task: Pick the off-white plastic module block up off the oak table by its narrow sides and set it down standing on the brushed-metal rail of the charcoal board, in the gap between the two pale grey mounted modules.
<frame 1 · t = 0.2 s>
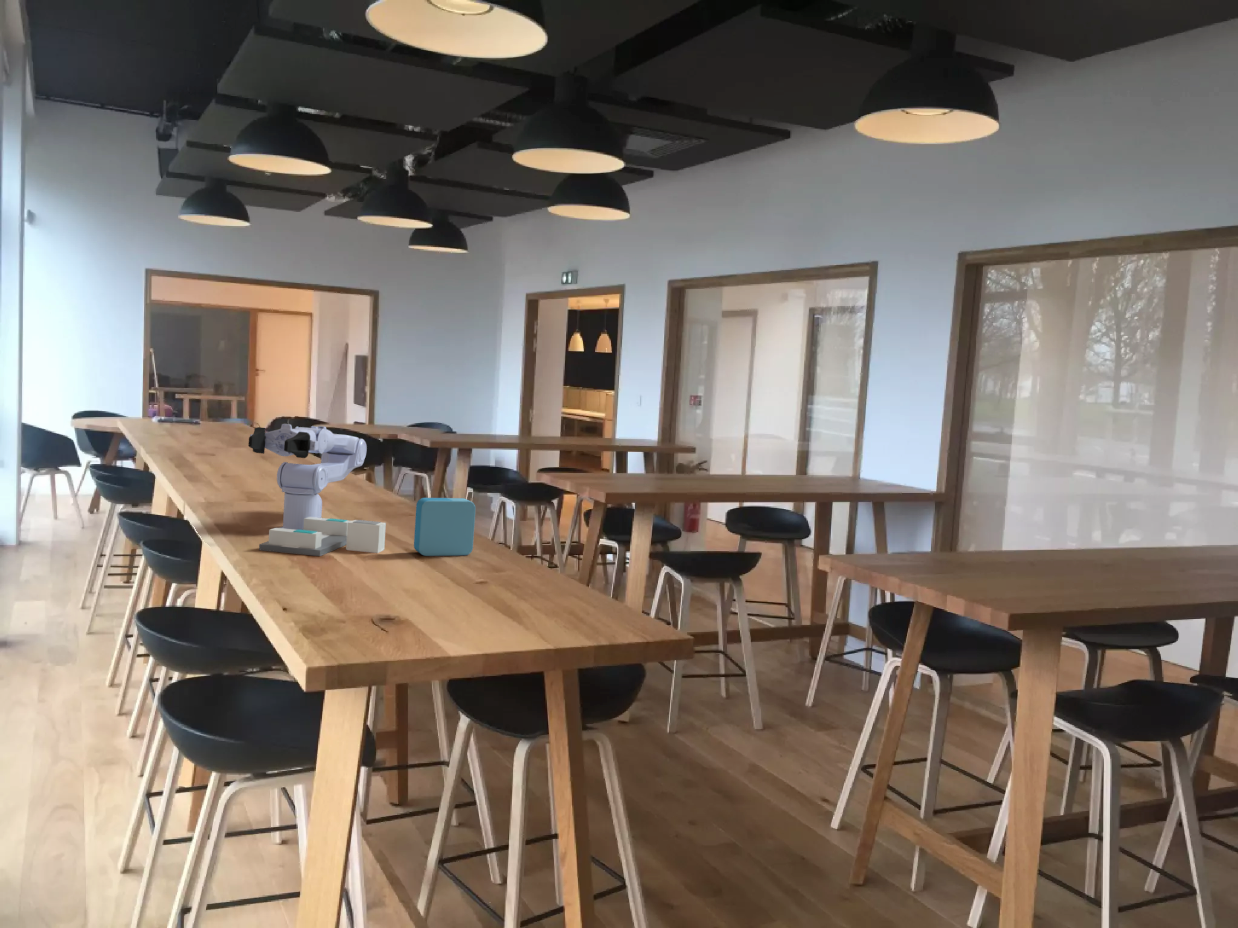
hand: (268, 443, 201), 21 cm above the table, tool horizontal, fingers open, 7 cm apart
module block: (365, 550, 207), on the table
data package: (442, 554, 209), on the table
rail board: (311, 544, 208), on the table
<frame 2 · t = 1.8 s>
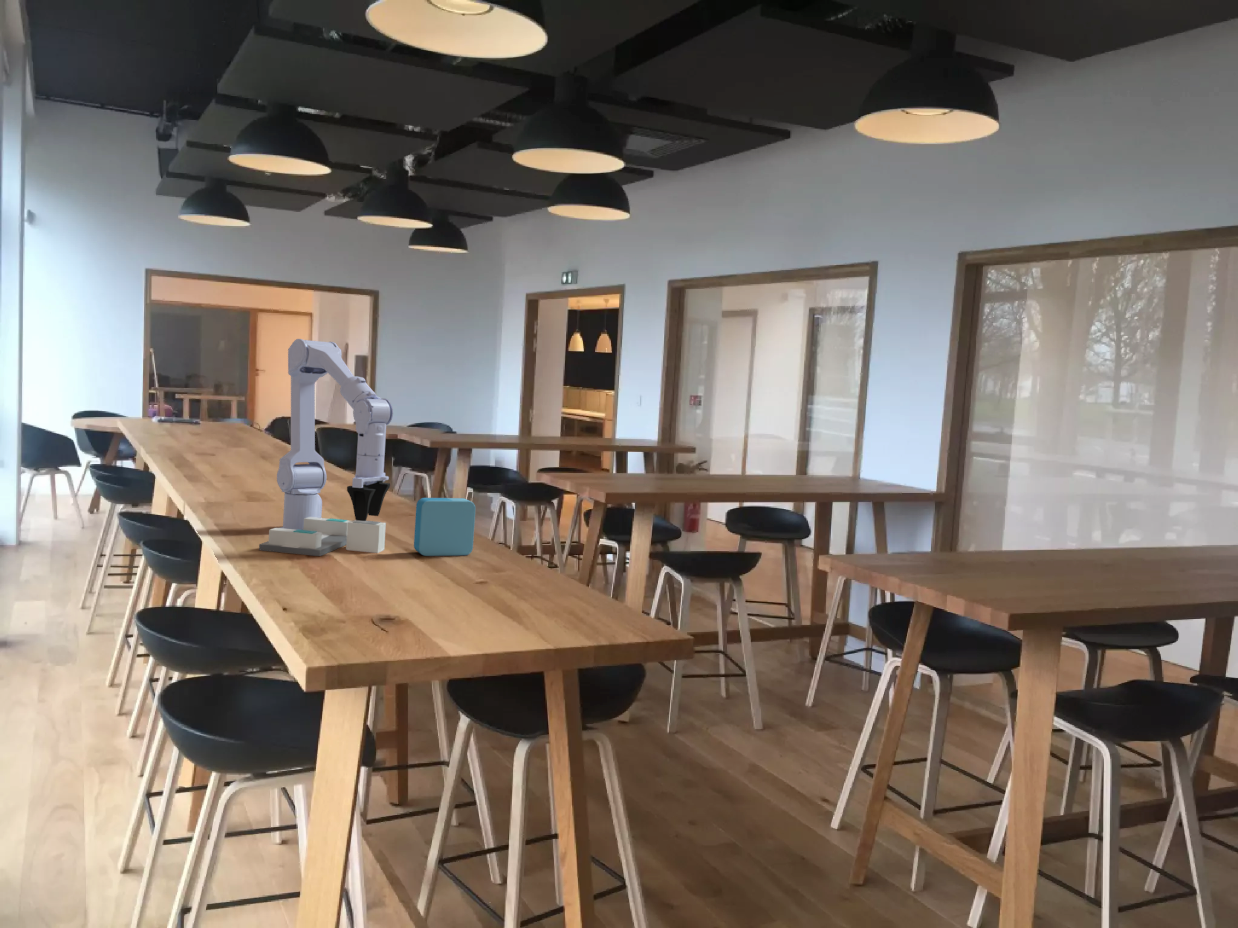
hand: (367, 517, 206), 7 cm above the table, tool pointing down, fingers open, 7 cm apart
nothing on the table moved.
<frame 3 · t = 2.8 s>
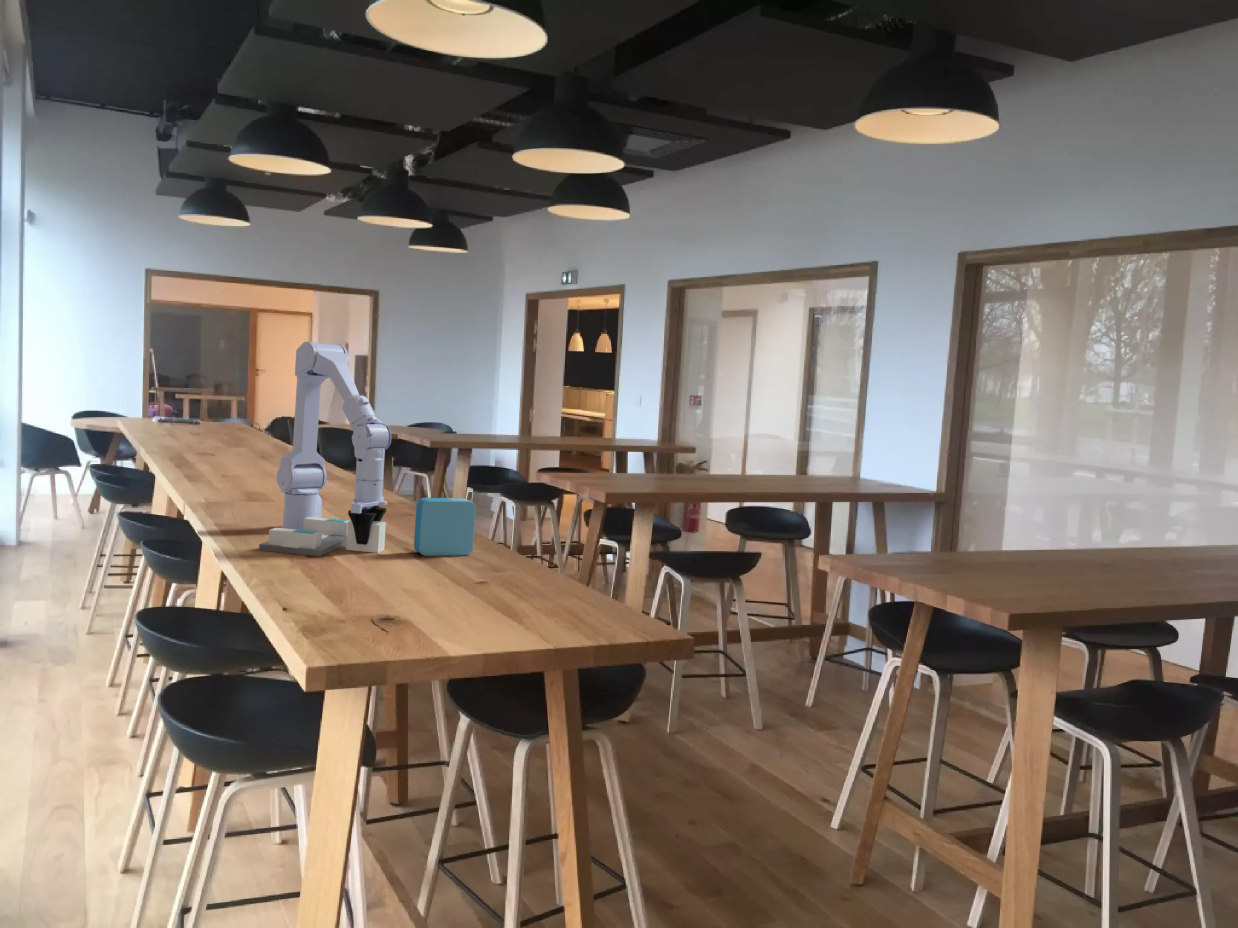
hand: (365, 542, 207), 2 cm above the table, tool pointing down, fingers closed on module block, 4 cm apart
module block: (365, 549, 207), on the table, touching gripper
everything else where it was.
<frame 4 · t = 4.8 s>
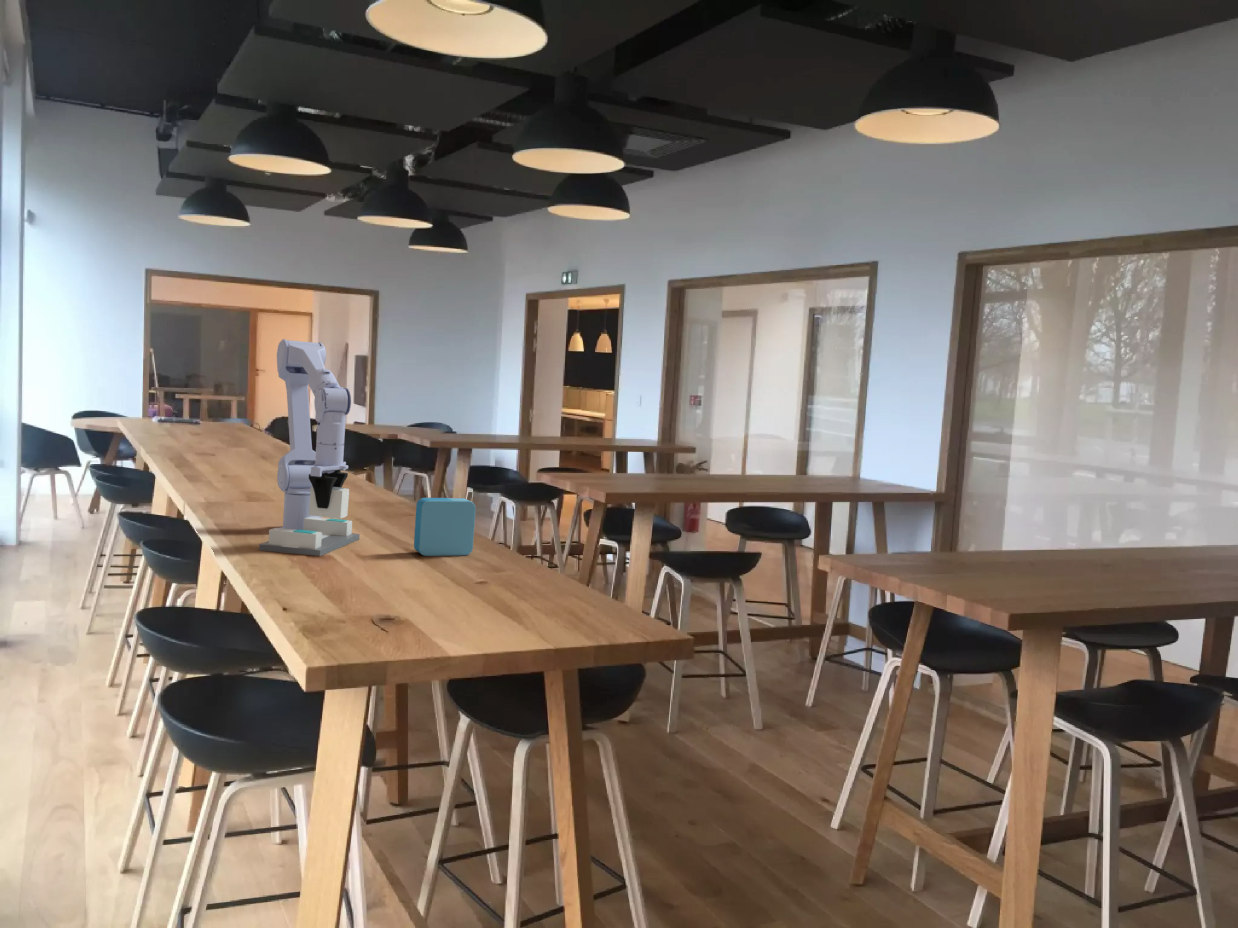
hand: (326, 506, 207), 8 cm above the table, tool pointing down, fingers closed on module block, 4 cm apart
module block: (328, 515, 207), point 7 cm above the table, touching gripper
everything else where it was.
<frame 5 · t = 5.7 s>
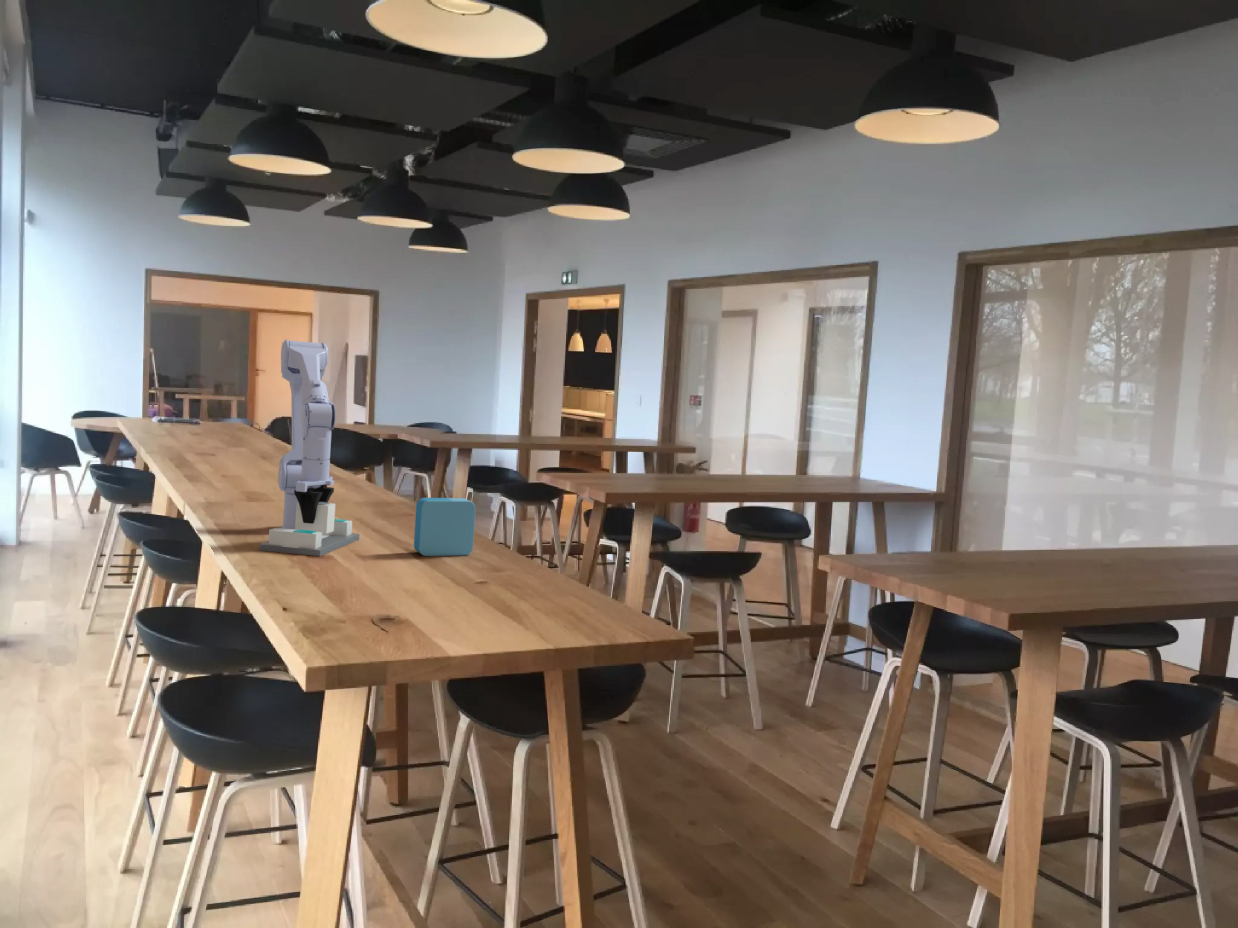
hand: (312, 521, 208), 5 cm above the table, tool pointing down, fingers closed on module block, 4 cm apart
module block: (314, 530, 208), point 3 cm above the table, touching gripper
everything else where it was.
when the fingers open (4 cm above the table, at t = 6.7 s): module block stays where it is, resting on rail board.
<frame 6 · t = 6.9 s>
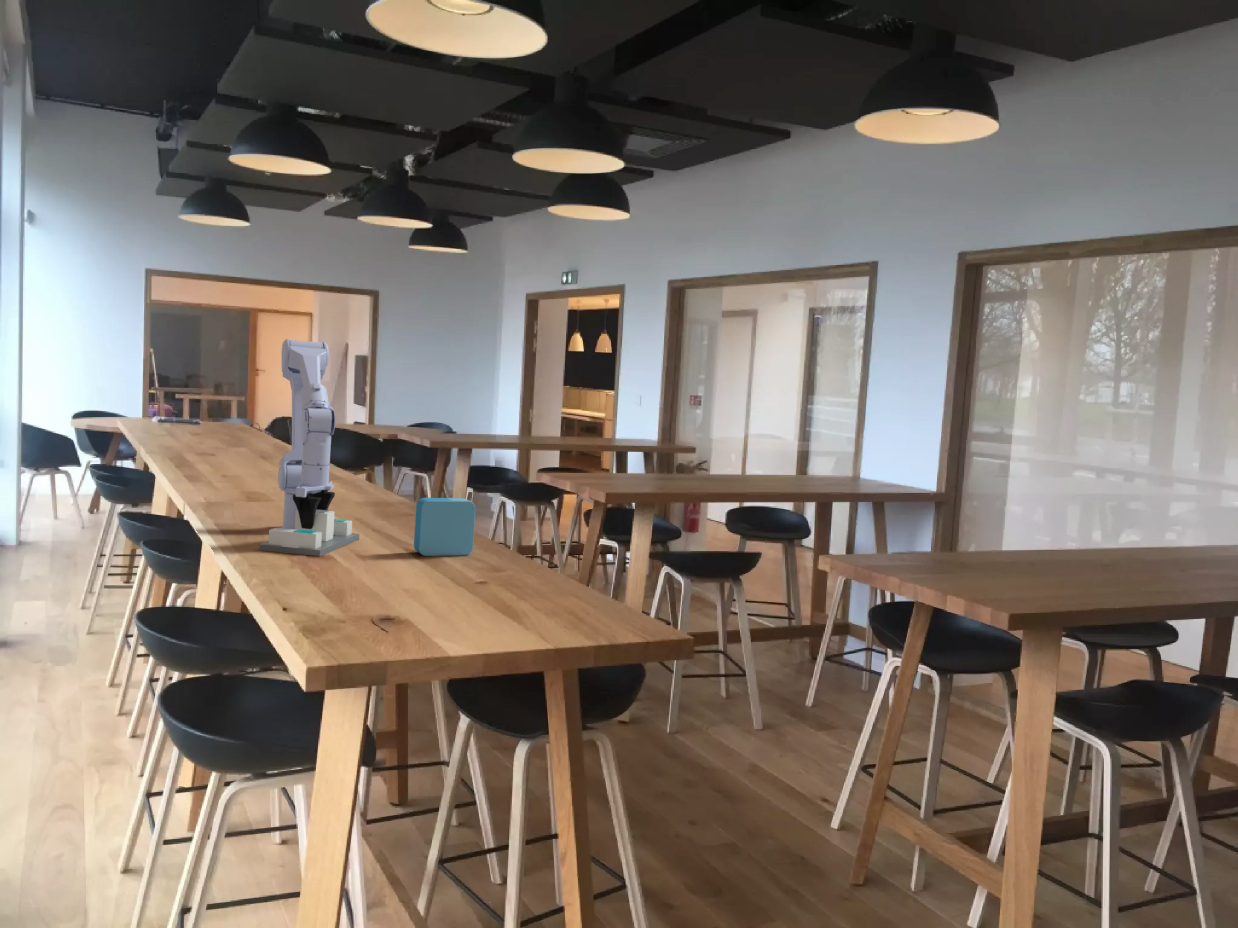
hand: (312, 526, 208), 4 cm above the table, tool pointing down, fingers open, 5 cm apart
module block: (313, 538, 208), point 1 cm above the table, touching rail board
everything else where it was.
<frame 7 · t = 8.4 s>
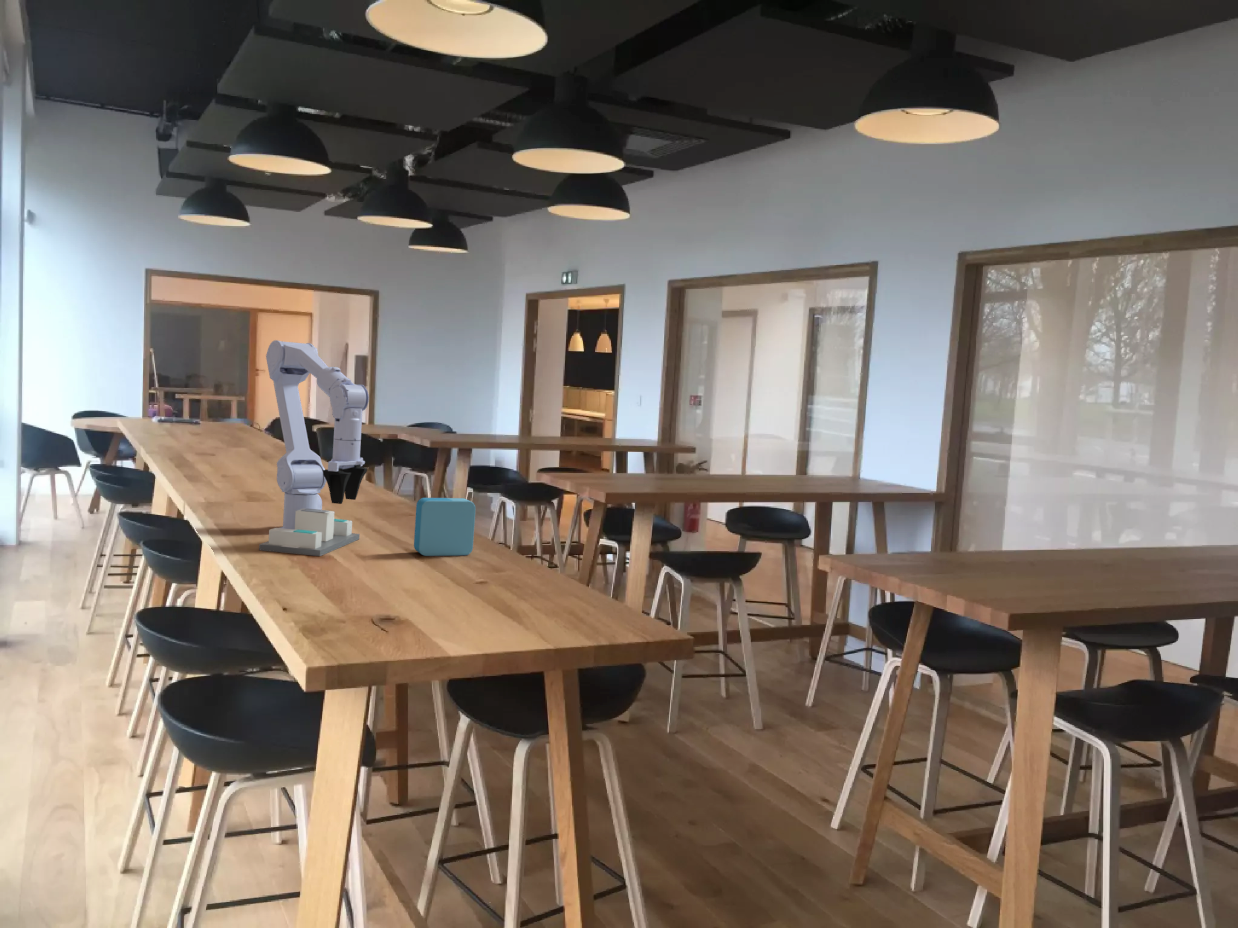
hand: (343, 501, 211), 9 cm above the table, tool pointing down, fingers open, 7 cm apart
nothing on the table moved.
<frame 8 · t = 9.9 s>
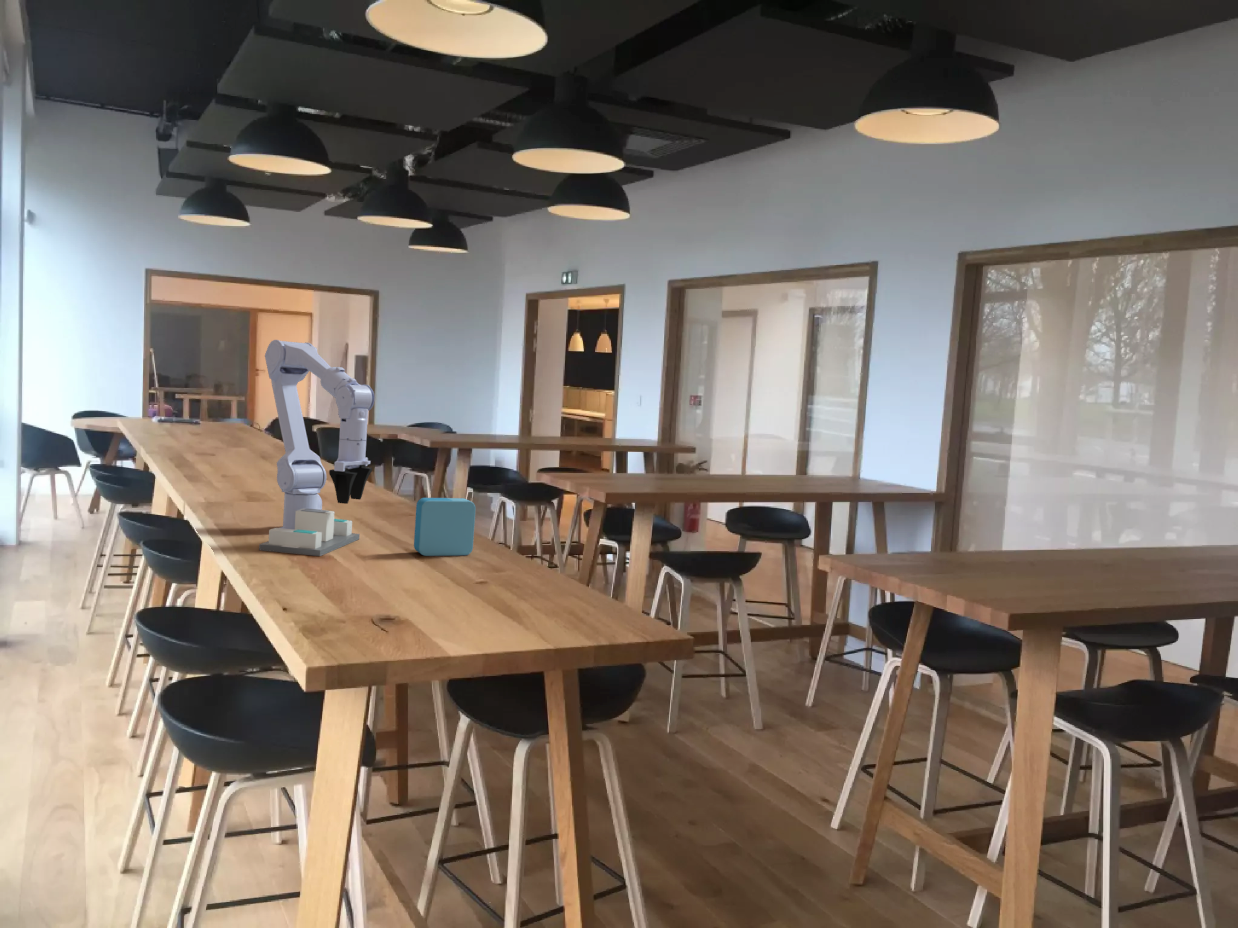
hand: (349, 501, 212), 9 cm above the table, tool pointing down, fingers open, 7 cm apart
nothing on the table moved.
at the end: module block 0.4 cm off-centre on the rail board, point 1.3 cm above the rail board's base; module block tilted 0°; the gripper is holding nothing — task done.
